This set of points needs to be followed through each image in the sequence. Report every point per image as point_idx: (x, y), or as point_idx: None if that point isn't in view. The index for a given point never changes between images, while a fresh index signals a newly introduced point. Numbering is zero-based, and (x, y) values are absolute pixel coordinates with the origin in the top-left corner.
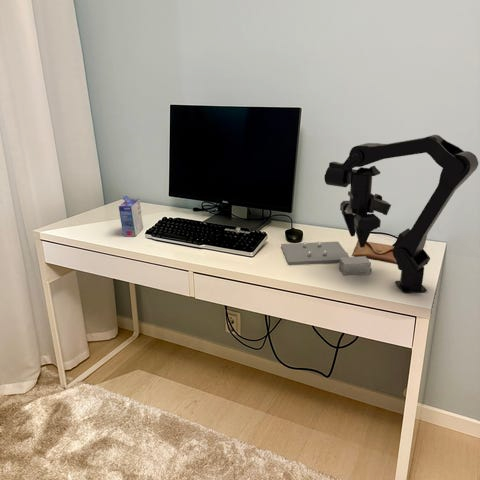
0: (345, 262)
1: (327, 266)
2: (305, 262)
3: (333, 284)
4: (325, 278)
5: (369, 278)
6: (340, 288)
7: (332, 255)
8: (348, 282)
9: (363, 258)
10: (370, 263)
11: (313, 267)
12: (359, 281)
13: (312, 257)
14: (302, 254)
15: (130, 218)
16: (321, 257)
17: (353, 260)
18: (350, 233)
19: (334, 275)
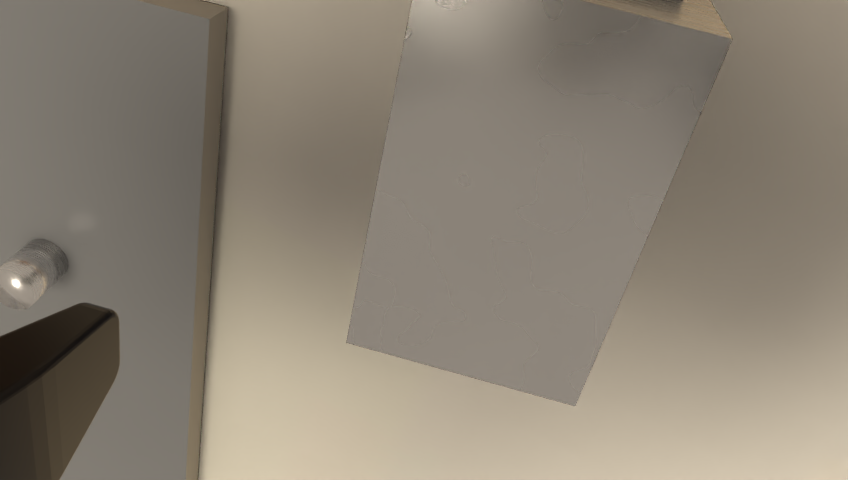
0: (539, 369)
1: (292, 318)
2: (190, 466)
3: (716, 474)
4: (559, 465)
5: (808, 67)
6: (832, 469)
7: (56, 182)
8: (758, 343)
9: (503, 55)
10: (725, 42)
11: (285, 432)
12: (807, 230)
13: None
14: None
15: None
16: None
17: (515, 242)
18: (77, 445)
19: None
